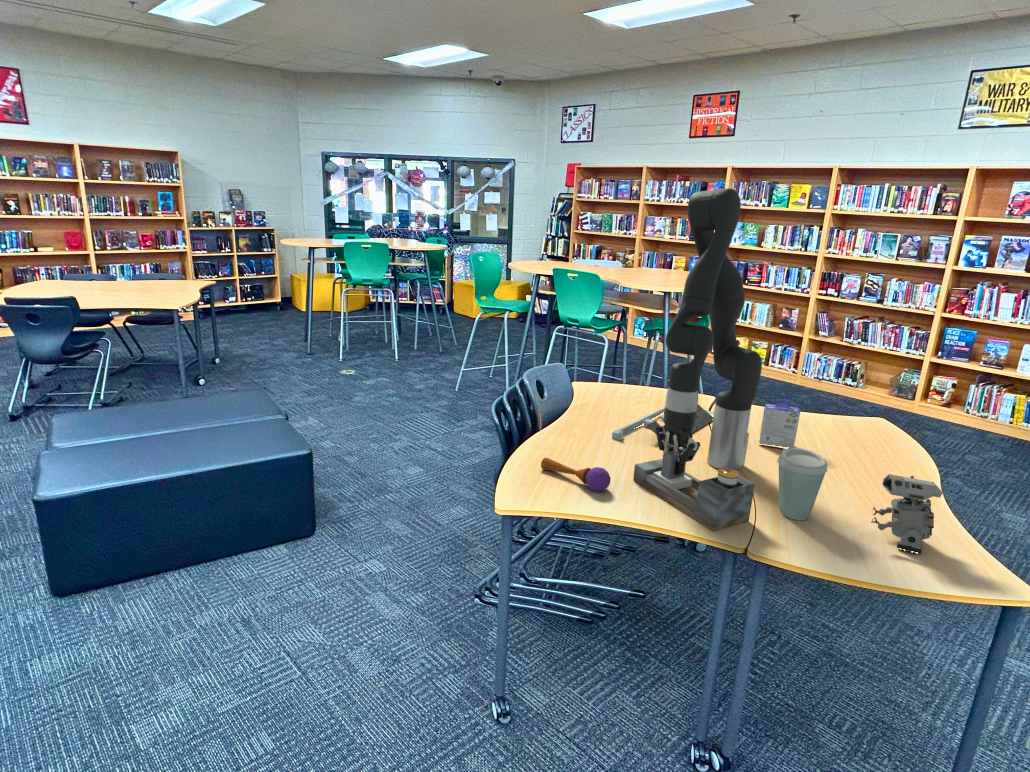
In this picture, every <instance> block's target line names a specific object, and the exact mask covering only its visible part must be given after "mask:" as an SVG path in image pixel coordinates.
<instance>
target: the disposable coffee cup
mask: <svg viewBox="0 0 1030 772" xmlns="http://www.w3.org/2000/svg"><path fill="white" fill-rule="evenodd" d="M781 450H782V451H781V453H780V454H779V456H778V459H777V461H776V463H777V464H778V506H779V507H778V509H779V513H780V512H781V513H782V514H783V515H784V516H783V515H782V514H781V513H780V514H781V515H782V516H783V517H785V516H786V517H785V518H787V517H788V519H789V518H791V519H790V520H793V519H796V520H795V521H806V520H808V519H809V517H811V514H812V511H813V508H814V505H815V503H816V500H817V497H818V495H819V491H820V489H821V486H822V483H823V481H824V477H825V475H826V473H827V472H828V463H827V461H826V459H824V458H823V457H822V455H820V454H819V453H816V452H814V451H812V450H808V449H805V448H800V447H794V448H788V449H781ZM807 518H808V519H807Z"/></svg>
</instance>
